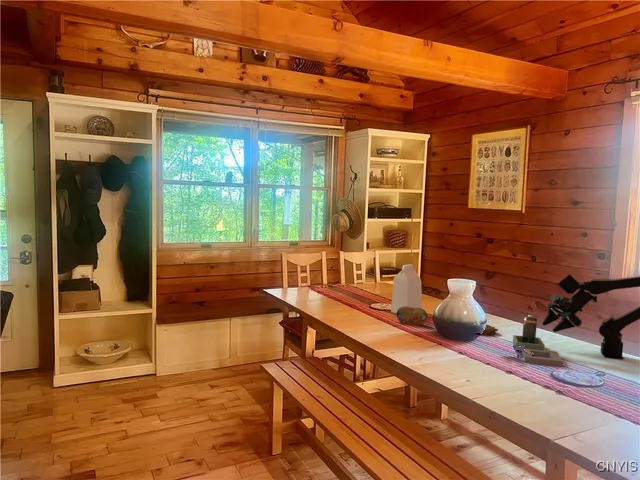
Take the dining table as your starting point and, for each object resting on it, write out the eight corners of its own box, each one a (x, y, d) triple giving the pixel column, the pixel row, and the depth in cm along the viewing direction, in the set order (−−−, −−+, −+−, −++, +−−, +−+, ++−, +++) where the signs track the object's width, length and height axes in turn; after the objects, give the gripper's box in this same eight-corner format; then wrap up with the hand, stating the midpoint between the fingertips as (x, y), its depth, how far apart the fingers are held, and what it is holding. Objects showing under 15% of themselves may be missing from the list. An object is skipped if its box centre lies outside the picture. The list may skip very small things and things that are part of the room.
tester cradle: (556, 356, 178) (556, 350, 178) (562, 366, 167) (562, 360, 167) (520, 352, 182) (521, 346, 181) (524, 362, 171) (525, 356, 171)
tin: (396, 322, 224) (396, 305, 223) (398, 320, 226) (398, 304, 226) (426, 326, 217) (426, 309, 216) (427, 325, 219) (428, 308, 219)
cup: (539, 345, 191) (540, 337, 190) (544, 353, 181) (544, 345, 180) (512, 342, 194) (513, 335, 194) (515, 350, 184) (516, 342, 183)
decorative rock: (459, 329, 216) (482, 339, 202) (459, 321, 215) (483, 330, 201) (477, 325, 220) (501, 335, 207) (478, 317, 220) (502, 326, 206)
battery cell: (535, 346, 188) (537, 315, 187) (534, 349, 184) (537, 318, 182) (522, 344, 191) (524, 313, 189) (521, 347, 186) (523, 316, 185)
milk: (406, 316, 235) (408, 267, 232) (390, 311, 244) (392, 264, 242) (422, 313, 242) (423, 265, 239) (406, 308, 251) (407, 262, 249)
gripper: (553, 284, 193) (525, 308, 195) (575, 293, 175) (545, 320, 176) (570, 302, 194) (542, 326, 195) (594, 313, 175) (564, 340, 177)
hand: (548, 327), depth 186 cm, fingers open, 9 cm apart
